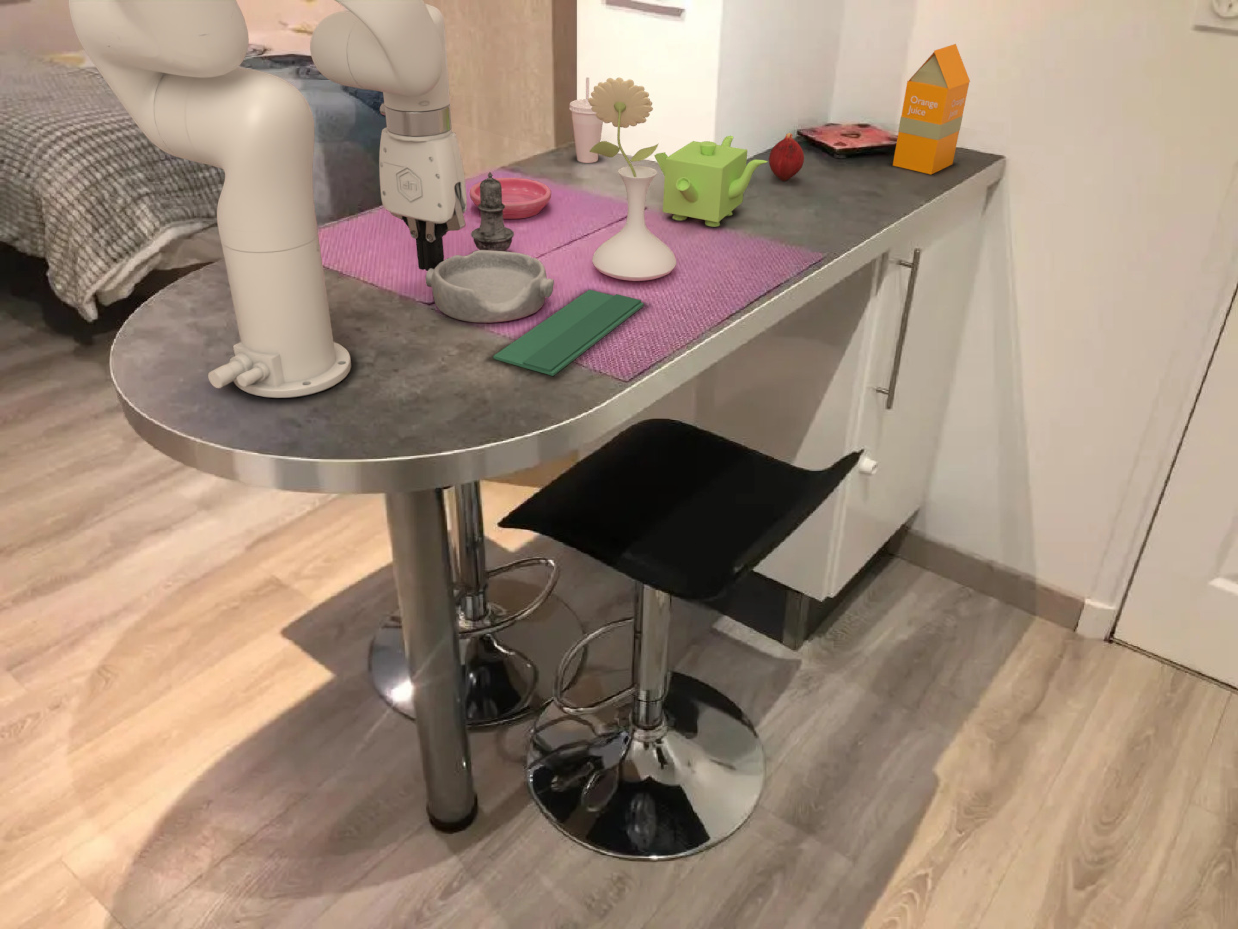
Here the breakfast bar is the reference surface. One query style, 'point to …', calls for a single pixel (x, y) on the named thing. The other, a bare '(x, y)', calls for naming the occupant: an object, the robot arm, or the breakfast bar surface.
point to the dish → (489, 286)
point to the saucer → (518, 197)
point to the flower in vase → (629, 188)
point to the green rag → (569, 332)
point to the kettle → (705, 180)
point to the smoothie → (585, 128)
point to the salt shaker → (492, 218)
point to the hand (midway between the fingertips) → (431, 266)
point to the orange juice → (932, 113)
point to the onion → (786, 158)
